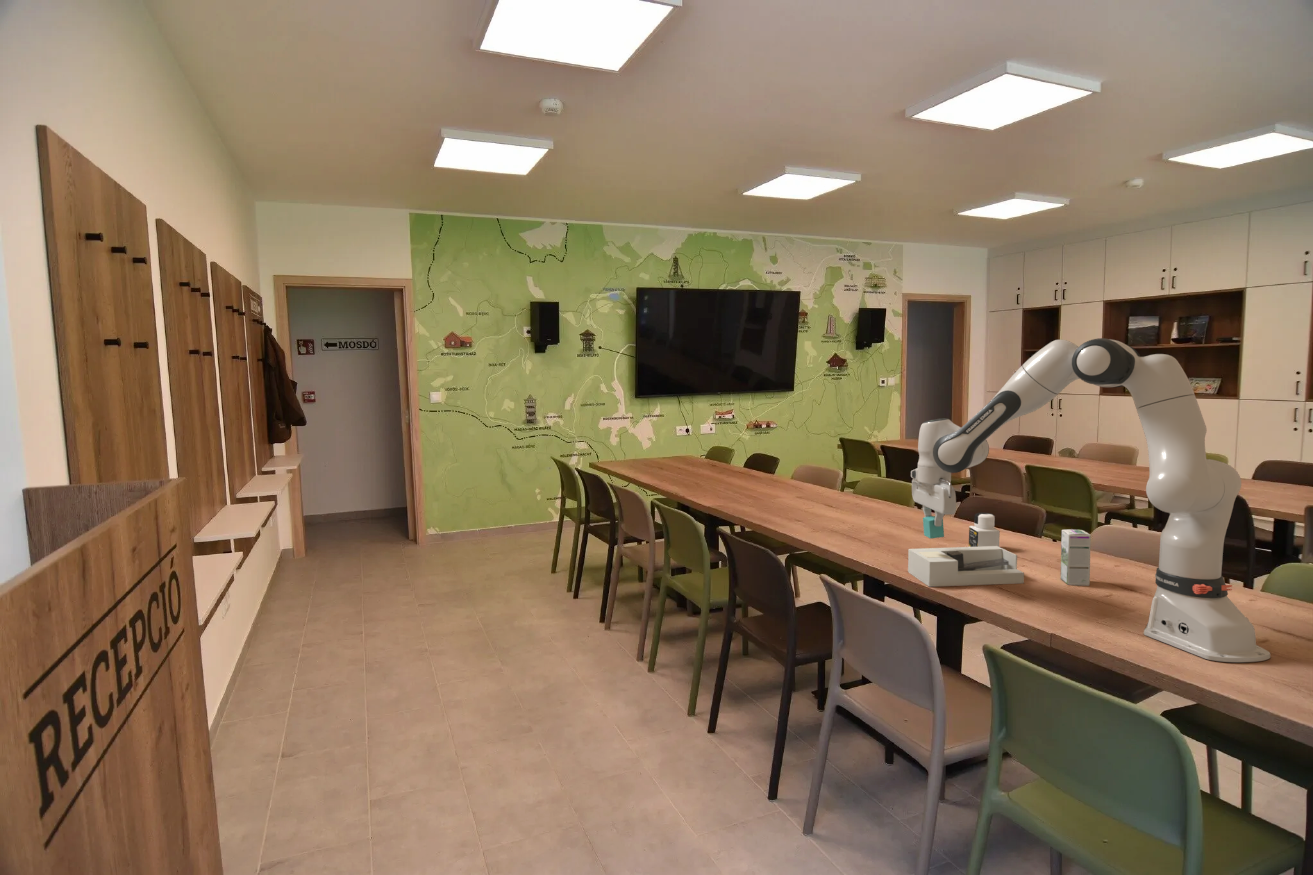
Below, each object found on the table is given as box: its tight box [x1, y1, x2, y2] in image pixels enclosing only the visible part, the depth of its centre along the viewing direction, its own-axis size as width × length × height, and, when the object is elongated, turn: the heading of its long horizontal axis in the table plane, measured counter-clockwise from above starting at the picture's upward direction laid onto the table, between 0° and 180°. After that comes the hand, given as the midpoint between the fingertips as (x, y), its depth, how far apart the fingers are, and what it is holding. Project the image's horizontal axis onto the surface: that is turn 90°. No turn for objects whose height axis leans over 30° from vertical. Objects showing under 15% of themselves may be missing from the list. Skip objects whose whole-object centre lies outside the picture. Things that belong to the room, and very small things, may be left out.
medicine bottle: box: [968, 512, 1001, 547], centre depth 229 cm, size 7×7×12 cm
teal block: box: [922, 515, 945, 540], centre depth 198 cm, size 4×4×5 cm
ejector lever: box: [947, 551, 1009, 571], centre depth 200 cm, size 3×16×5 cm, turn 93°
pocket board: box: [907, 546, 1025, 587], centre depth 200 cm, size 14×27×7 cm, turn 93°
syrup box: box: [1060, 528, 1092, 587], centre depth 193 cm, size 6×6×14 cm
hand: (932, 523), depth 198 cm, fingers closed on teal block, 4 cm apart
